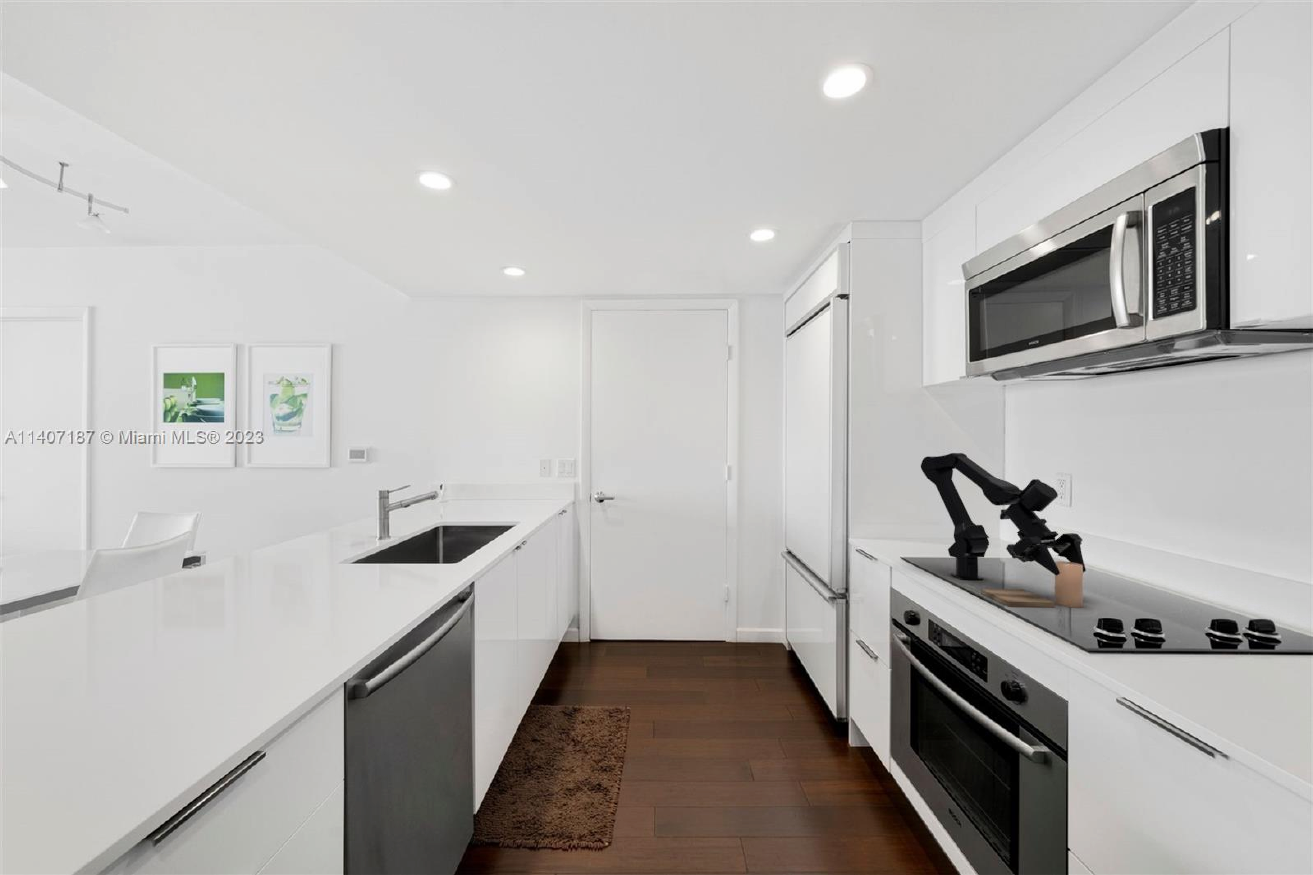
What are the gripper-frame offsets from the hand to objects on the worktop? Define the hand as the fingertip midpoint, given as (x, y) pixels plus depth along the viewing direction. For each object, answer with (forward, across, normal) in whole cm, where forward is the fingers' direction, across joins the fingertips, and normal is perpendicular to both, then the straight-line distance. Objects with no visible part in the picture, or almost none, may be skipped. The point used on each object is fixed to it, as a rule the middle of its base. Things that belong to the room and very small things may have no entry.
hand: (1071, 573), depth 138 cm
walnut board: (0, +9, -11) cm, 14 cm away
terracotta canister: (+5, 0, -6) cm, 8 cm away
